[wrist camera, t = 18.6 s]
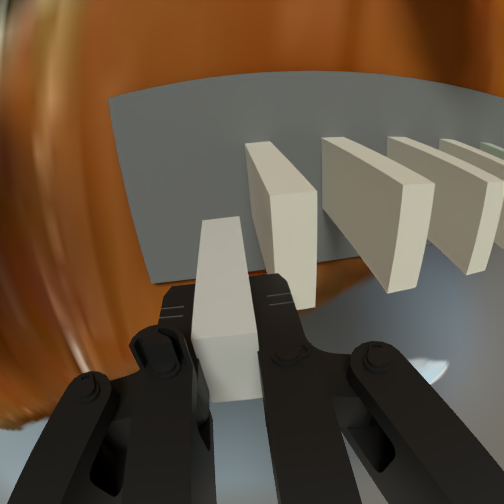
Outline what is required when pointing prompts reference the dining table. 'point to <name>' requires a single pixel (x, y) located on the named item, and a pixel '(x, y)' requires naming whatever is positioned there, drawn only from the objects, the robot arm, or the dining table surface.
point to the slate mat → (280, 135)
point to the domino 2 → (377, 209)
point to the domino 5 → (492, 150)
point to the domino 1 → (284, 219)
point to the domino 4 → (484, 162)
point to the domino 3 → (455, 202)
